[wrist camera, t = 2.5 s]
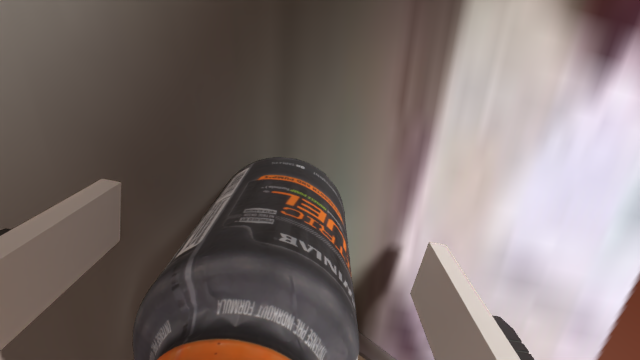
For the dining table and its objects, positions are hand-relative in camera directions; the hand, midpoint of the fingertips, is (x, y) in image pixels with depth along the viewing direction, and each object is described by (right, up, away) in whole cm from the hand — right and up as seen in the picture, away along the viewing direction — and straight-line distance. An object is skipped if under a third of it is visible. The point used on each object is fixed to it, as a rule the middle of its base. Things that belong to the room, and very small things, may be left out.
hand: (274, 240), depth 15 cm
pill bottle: (0, +1, +2) cm, 3 cm away
